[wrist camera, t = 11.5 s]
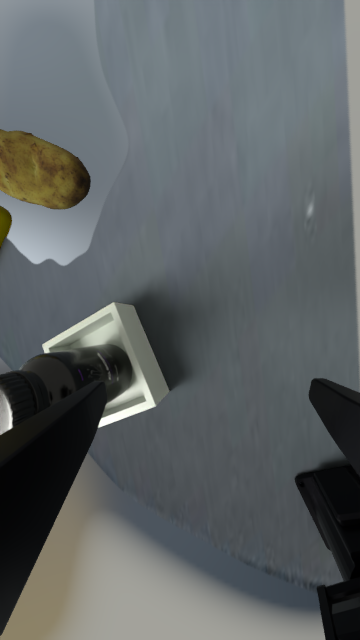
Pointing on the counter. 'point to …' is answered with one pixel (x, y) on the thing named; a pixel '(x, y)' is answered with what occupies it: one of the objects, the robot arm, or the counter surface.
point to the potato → (41, 171)
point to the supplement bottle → (60, 380)
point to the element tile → (4, 223)
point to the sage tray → (128, 334)
